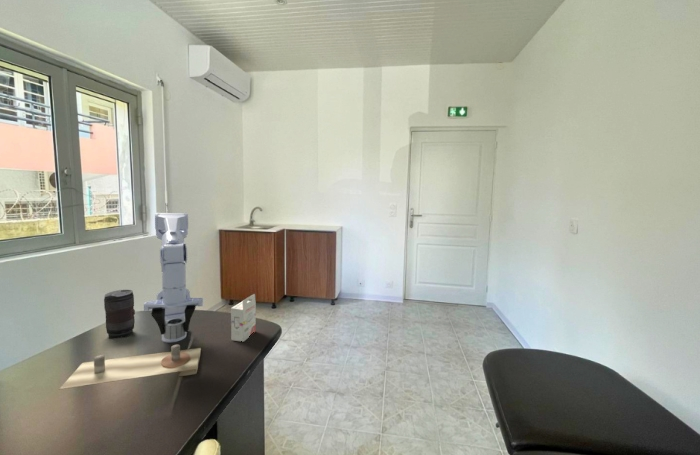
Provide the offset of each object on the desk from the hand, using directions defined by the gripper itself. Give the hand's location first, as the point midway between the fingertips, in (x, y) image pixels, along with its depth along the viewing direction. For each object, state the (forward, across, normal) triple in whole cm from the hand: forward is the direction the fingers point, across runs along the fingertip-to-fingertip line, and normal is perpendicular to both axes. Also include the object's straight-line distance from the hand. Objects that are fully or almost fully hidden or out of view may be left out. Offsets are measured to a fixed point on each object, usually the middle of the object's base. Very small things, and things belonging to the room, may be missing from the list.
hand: (175, 331), depth 86 cm
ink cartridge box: (+11, +19, +14) cm, 26 cm away
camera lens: (+11, -21, +26) cm, 35 cm away
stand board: (+10, -9, 0) cm, 14 cm away
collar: (+1, 0, 0) cm, 1 cm away
